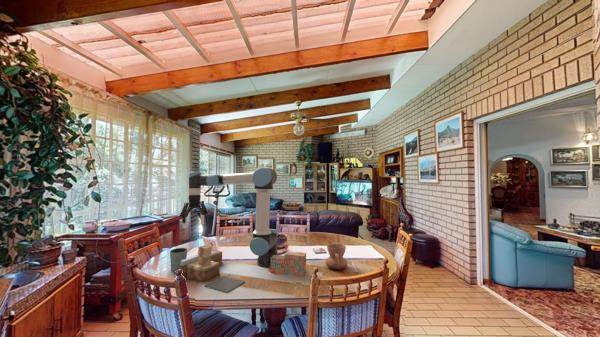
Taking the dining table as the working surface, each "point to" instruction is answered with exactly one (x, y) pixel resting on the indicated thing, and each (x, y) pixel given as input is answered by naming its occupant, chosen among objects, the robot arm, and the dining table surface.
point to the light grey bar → (189, 260)
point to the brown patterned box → (289, 264)
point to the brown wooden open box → (203, 275)
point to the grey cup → (177, 257)
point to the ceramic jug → (336, 256)
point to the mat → (225, 284)
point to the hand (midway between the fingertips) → (193, 226)
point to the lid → (203, 260)
